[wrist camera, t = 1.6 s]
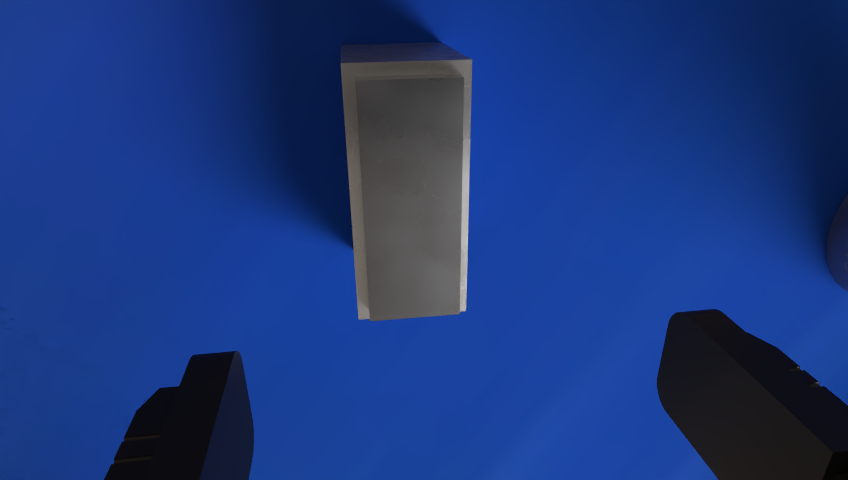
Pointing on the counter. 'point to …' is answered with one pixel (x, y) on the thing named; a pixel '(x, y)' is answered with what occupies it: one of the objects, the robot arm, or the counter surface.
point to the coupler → (408, 176)
